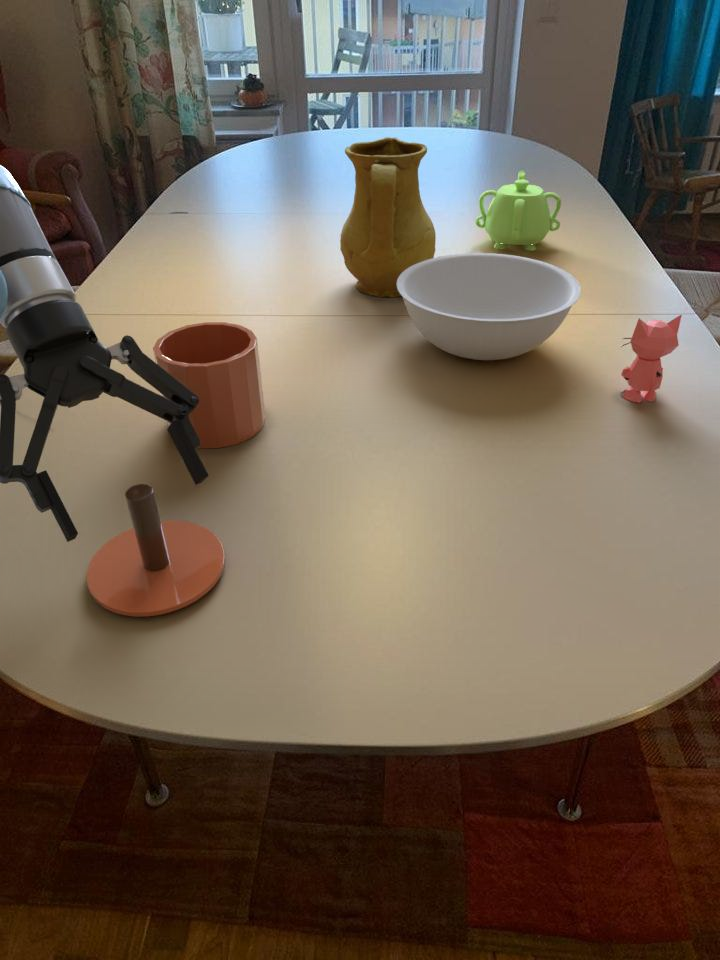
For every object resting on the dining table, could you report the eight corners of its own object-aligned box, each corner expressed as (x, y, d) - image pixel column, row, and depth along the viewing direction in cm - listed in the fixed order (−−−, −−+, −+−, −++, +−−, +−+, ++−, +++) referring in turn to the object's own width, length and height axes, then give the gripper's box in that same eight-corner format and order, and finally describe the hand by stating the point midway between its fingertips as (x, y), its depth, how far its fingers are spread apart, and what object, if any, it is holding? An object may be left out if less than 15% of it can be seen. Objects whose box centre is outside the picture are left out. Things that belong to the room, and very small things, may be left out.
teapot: (463, 237, 159) (467, 176, 152) (516, 226, 164) (522, 167, 157) (509, 259, 147) (515, 194, 140) (564, 247, 153) (573, 183, 145)
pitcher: (453, 277, 138) (454, 134, 123) (399, 315, 127) (392, 163, 112) (379, 262, 147) (371, 127, 132) (321, 297, 136) (305, 154, 120)
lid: (70, 621, 69) (40, 539, 63) (111, 529, 80) (90, 451, 74) (213, 621, 69) (197, 538, 63) (235, 528, 80) (223, 451, 74)
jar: (159, 448, 93) (142, 366, 86) (180, 399, 103) (166, 322, 97) (258, 448, 93) (248, 365, 86) (269, 398, 103) (262, 321, 96)
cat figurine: (653, 383, 105) (672, 303, 98) (677, 407, 99) (700, 324, 92) (606, 388, 104) (622, 307, 97) (628, 412, 99) (647, 329, 92)
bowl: (565, 396, 102) (577, 330, 96) (376, 374, 108) (376, 310, 103) (574, 318, 123) (584, 260, 118) (415, 304, 130) (417, 247, 124)
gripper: (151, 300, 81) (239, 469, 81) (-92, 370, 69) (9, 571, 68) (165, 265, 75) (260, 449, 74) (-101, 336, 62) (11, 558, 62)
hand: (140, 508), depth 71 cm, fingers open, 13 cm apart
